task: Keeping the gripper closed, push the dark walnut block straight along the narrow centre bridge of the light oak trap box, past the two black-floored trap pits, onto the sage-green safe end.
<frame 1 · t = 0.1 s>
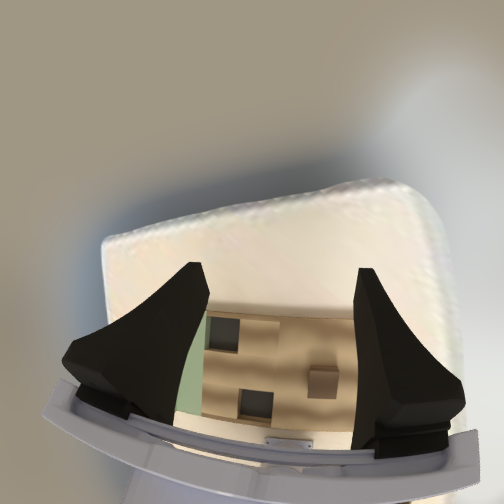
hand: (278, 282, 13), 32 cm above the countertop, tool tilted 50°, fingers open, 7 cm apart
walnut block: (322, 378, 38), point 2 cm above the countertop, touching trap box
trap box: (265, 370, 42), on the countertop
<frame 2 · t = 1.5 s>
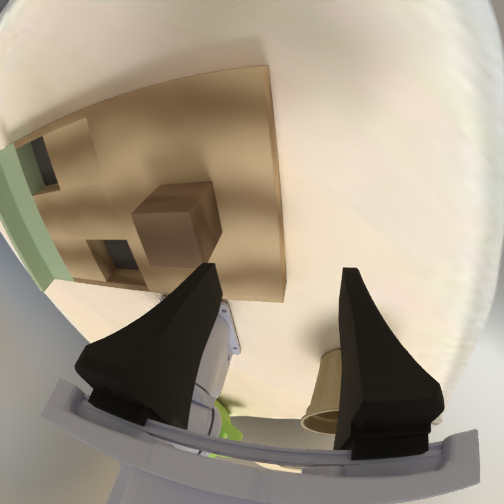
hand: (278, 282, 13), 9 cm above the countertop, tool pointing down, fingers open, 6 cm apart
teapot: (203, 404, 52), on the countertop
walnut block: (191, 208, 20), point 2 cm above the countertop, touching trap box
trap box: (114, 199, 24), on the countertop
flower pot: (345, 358, 32), on the countertop
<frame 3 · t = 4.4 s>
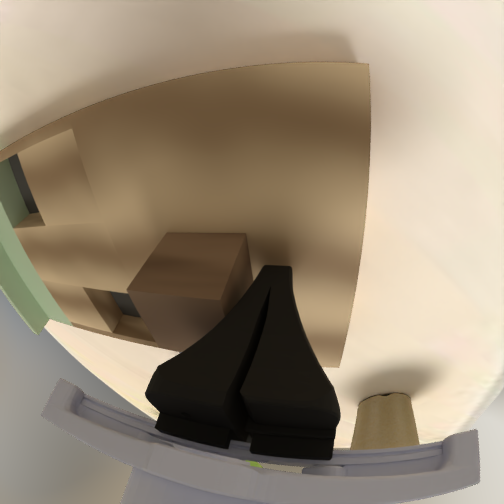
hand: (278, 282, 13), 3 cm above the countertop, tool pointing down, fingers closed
walnut block: (212, 266, 14), point 3 cm above the countertop, touching gripper
trap box: (118, 237, 18), on the countertop
flower pot: (384, 401, 26), on the countertop
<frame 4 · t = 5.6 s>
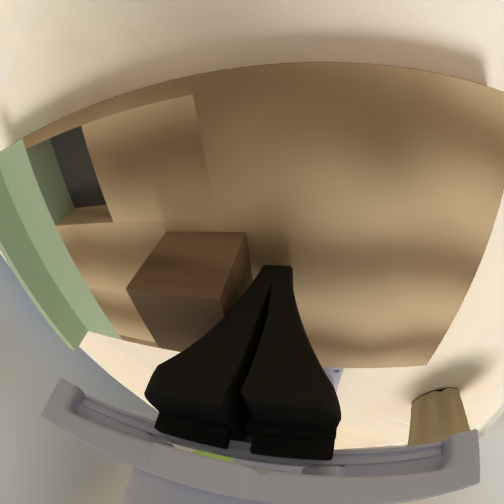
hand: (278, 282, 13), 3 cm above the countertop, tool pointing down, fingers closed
walnut block: (211, 265, 14), point 3 cm above the countertop, touching gripper
trap box: (206, 237, 16), on the countertop
flower pot: (435, 396, 25), on the countertop
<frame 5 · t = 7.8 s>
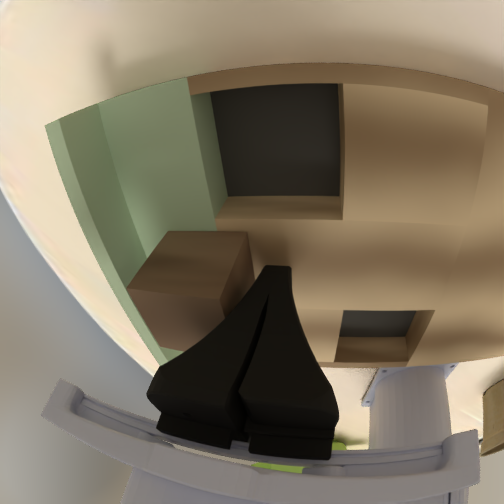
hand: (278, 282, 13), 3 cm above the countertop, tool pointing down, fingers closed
teapot: (312, 446, 42), on the countertop
walnut block: (213, 264, 14), point 3 cm above the countertop, touching gripper, trap box
trap box: (406, 242, 14), on the countertop
flower pot: (501, 385, 22), on the countertop
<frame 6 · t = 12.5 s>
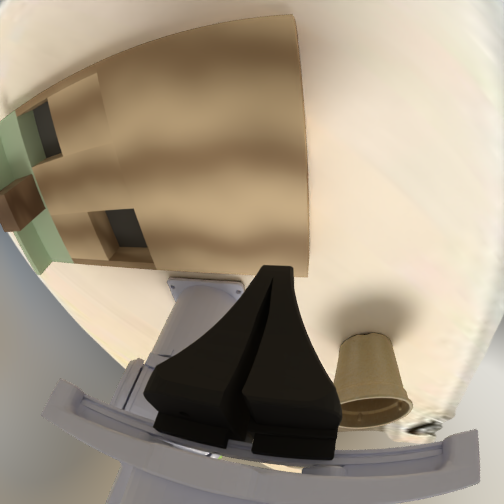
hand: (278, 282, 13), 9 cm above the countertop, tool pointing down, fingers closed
walnut block: (29, 193, 22), point 2 cm above the countertop, touching trap box
trap box: (121, 166, 21), on the countertop
flower pot: (365, 345, 30), on the countertop
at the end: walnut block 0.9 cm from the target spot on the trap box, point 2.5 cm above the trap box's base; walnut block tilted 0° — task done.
